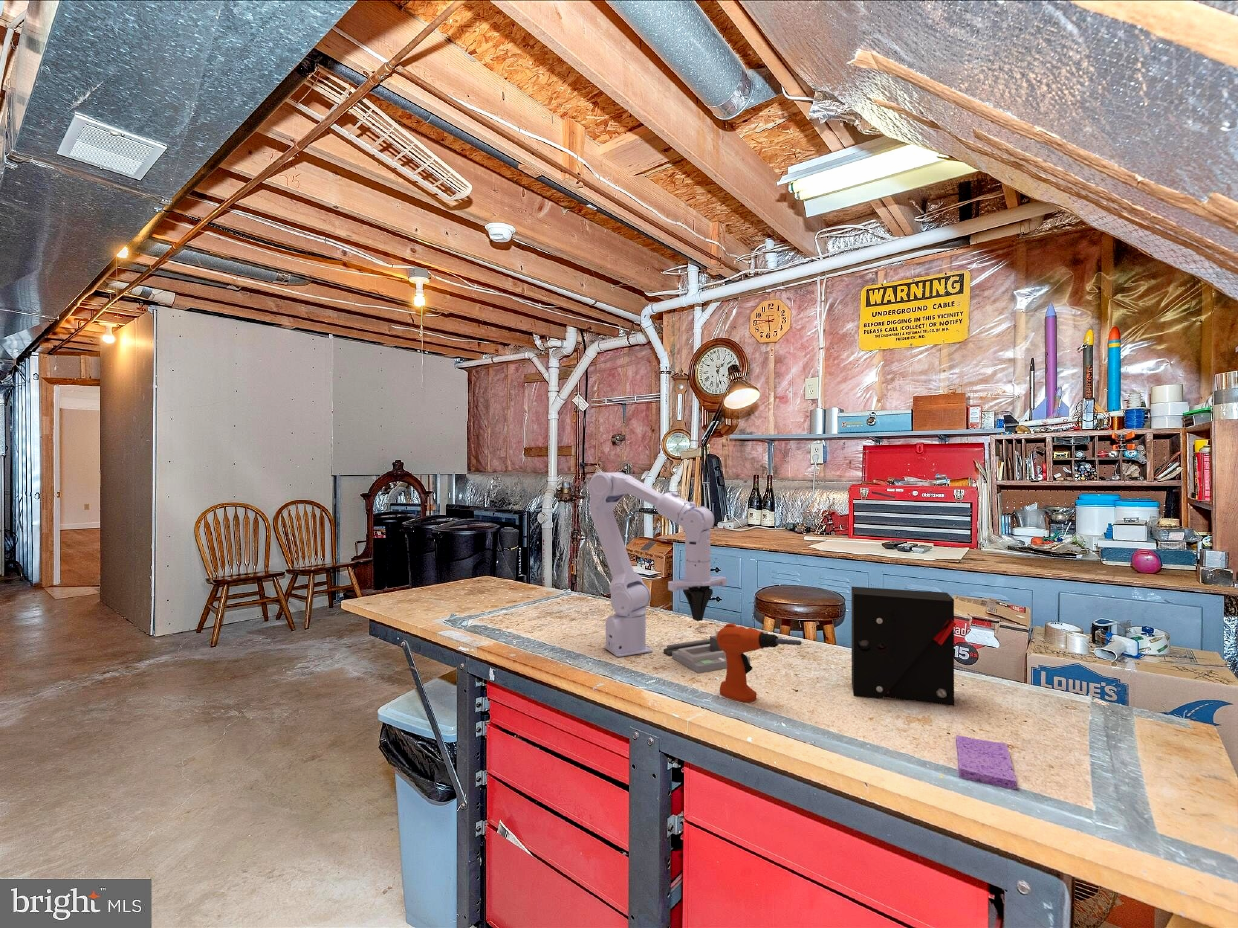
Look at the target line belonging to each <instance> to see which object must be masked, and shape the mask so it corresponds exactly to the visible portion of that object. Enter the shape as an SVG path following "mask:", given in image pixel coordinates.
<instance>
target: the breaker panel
mask: <svg viewBox="0 0 1238 928" xmlns="http://www.w3.org/2000/svg"><path fill="white" fill-rule="evenodd" d="M745 655H746V654H745ZM746 656H747V659H748V662H749V664H750V665H751V657H750V656H749V655H746ZM671 658H672V659H673V660H675V661H676V662H678V663H680V664H682V665H683V666H685V667H686V668H688V669H690V670H692V671H694V672H695V673H697V674H702V673H708V672H712V671H718V670H724V669H727V661H726V654H725V652H724V651H723V650H722V651H716V652H711V651H710V644H707V645H701V646H695V647H688V648H682V649H678V651H672V655H671Z"/></svg>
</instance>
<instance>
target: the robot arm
mask: <svg viewBox="0 0 1238 928" xmlns="http://www.w3.org/2000/svg"><path fill="white" fill-rule="evenodd" d="M587 491H588V493H589V513H590V516H591V519H592V521H593V524H594V529H595V530H596V533H597V538H598V539H599V542H600V546H601V549H602V551H603V554H604V556H605V560H606V563H607V565H608V569H609V571H610V574H611V577H612V580H611V581H610V585H609V586H608V590H609V592H610V606H611V608H612V609H613V612H615V614H613V615H610V616H608V617H607V618H606V621H605V645H604V649H606V650H607V651H609V652H610V653H611V654H612V655H614V656H616V657H617V658H620V657H626V656H631V655H639V654H646V653H651V652H653V648H651V647H649V646H647V638H646V637H647V634H646V633H647V632H646V631H647V630H646V625H647V623H646V622H647V621H646V617H647V616H646V615H647V612H646V611H647V606H649V604H650V602H651V599H652V597H651V596H652V595H651V590H650V589H649V588H648V586H647V585H646V584H645V583H644V580H643V577H642V576H641V575H640V574H639V573H637V572H636V571H634V569H633V565H632V562H631V559H630V557H629V554H628V551H627V548H626V546H625V543H624V539H623V537H622V534H621V531H620V528H619V526H618V522H617V520H616V517H615V514H614V510H615V508H616V507H617V505H618V503H619V502H620V501H621V500H622V499H623V498H624V497H625V496H626V495H631V496H633V497H635V498H636V499H639V500H642V501H644V502H645V503H648V504H650V505H652V506H653V507H656V512H657V513H658V514H659V515H660V516H662V517H664V518H666V519H668V520H669V521H671V522H673V523H675V524H677V525H679V526H681V528H682V530H683V531H684V533H685V534H684V536H685V538H684V539H685V540H684V545H685V547H684V553H685V555H684V570H685V571H684V578H679V579H676V580H670V581H668V582H667V590H668V591H670V592H673V593H674V592H677V591H682V592H683V594H684V596H685V598H686V600H687V603H688V605H689V608H690V612H691V616H692V620H693V621H696V622H700V621H702V622H703V619H704V615H705V611H706V607H707V605H708V603H709V600H711V597H712V596H713V592H714V591H713V590H714V589H712V587H727V577H725V576H721V575H720V576H711V529H712V528H713V527H714V524H715V516H714V514H713V511H711V510H710V509H709V508H708V507H707V506H702V505H701V506H697V503H696V502H694V501H688V500H686V499H684V498H682V497H680V493H678V492H676V491H674V492H673V491H672V492H665V493H661V492H659V491H657V490H656V489H654V488H652V487H650V486H649V485H648V484H645V483H644V482H642V481H640V480H638V479H637V478H635V477H634V476H632V475H629V474H626V473H625V472H623V471H616V472H604V471H598V472H595V473H594V474H593V475H592V476H591V478H590V481H589V482H588V484H587Z"/></svg>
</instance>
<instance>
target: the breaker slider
mask: <svg viewBox="0 0 1238 928" xmlns="http://www.w3.org/2000/svg"><path fill="white" fill-rule="evenodd" d="M721 629H722V628H721ZM721 629H715V632H714V633H715V635H712V636H709V639H710V651H711V652H716V651H722V649H721V648H720V647H719V645H718V643H717V634H718V632H719V631H720V630H721Z"/></svg>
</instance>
